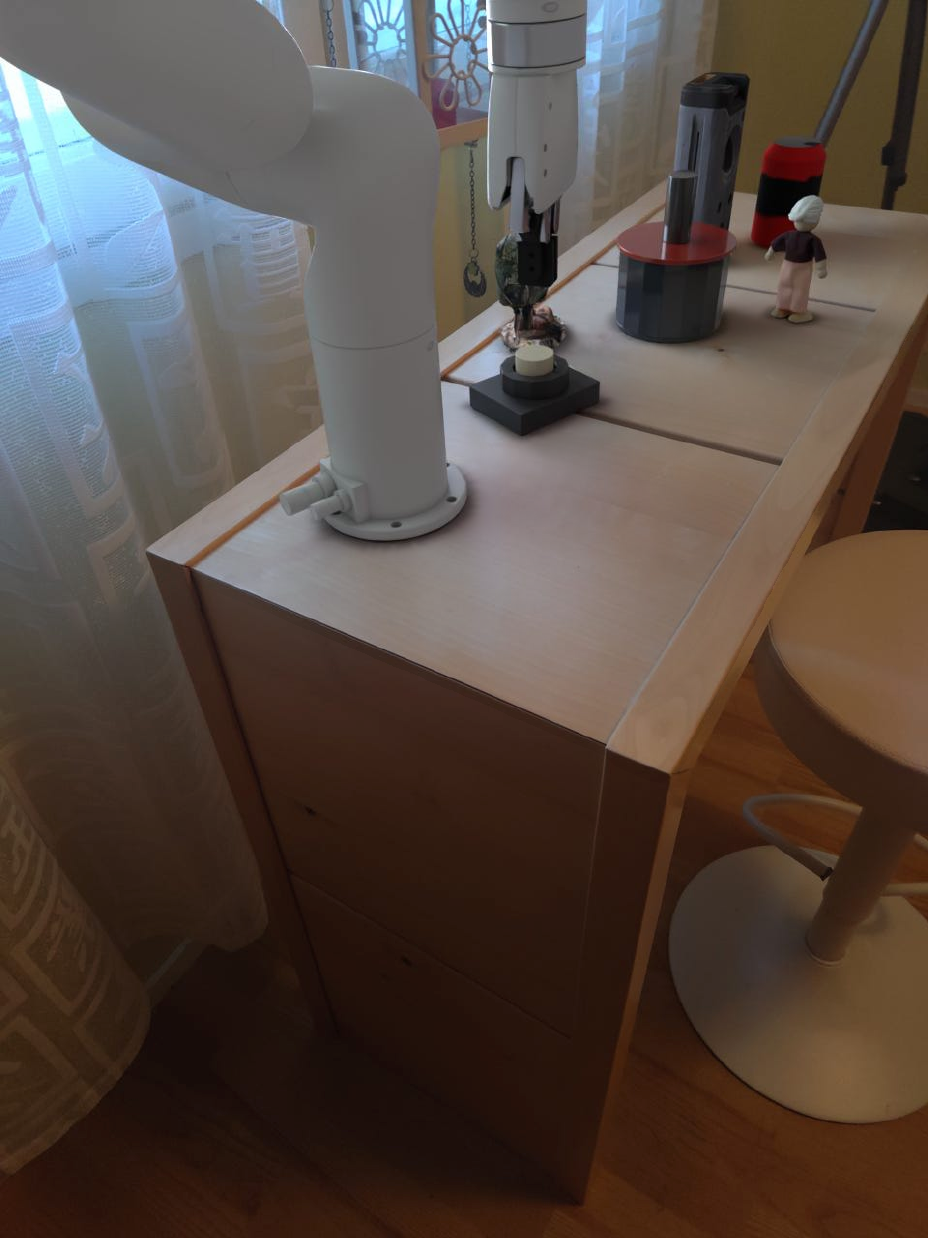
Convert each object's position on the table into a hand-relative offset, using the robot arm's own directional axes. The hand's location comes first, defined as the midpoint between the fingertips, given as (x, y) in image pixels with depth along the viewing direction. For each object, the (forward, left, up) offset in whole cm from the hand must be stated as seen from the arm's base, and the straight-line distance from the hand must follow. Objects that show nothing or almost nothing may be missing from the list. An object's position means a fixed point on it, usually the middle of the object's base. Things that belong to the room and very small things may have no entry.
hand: (537, 282), depth 80 cm
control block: (0, 0, -12) cm, 12 cm away
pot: (+24, +5, -12) cm, 27 cm away
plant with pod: (+9, +12, -12) cm, 19 cm away
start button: (0, 0, -8) cm, 8 cm away
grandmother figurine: (+35, -3, -12) cm, 37 cm away
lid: (+24, +5, -3) cm, 24 cm away
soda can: (+54, +13, -12) cm, 56 cm away
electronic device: (+42, +17, -12) cm, 46 cm away
